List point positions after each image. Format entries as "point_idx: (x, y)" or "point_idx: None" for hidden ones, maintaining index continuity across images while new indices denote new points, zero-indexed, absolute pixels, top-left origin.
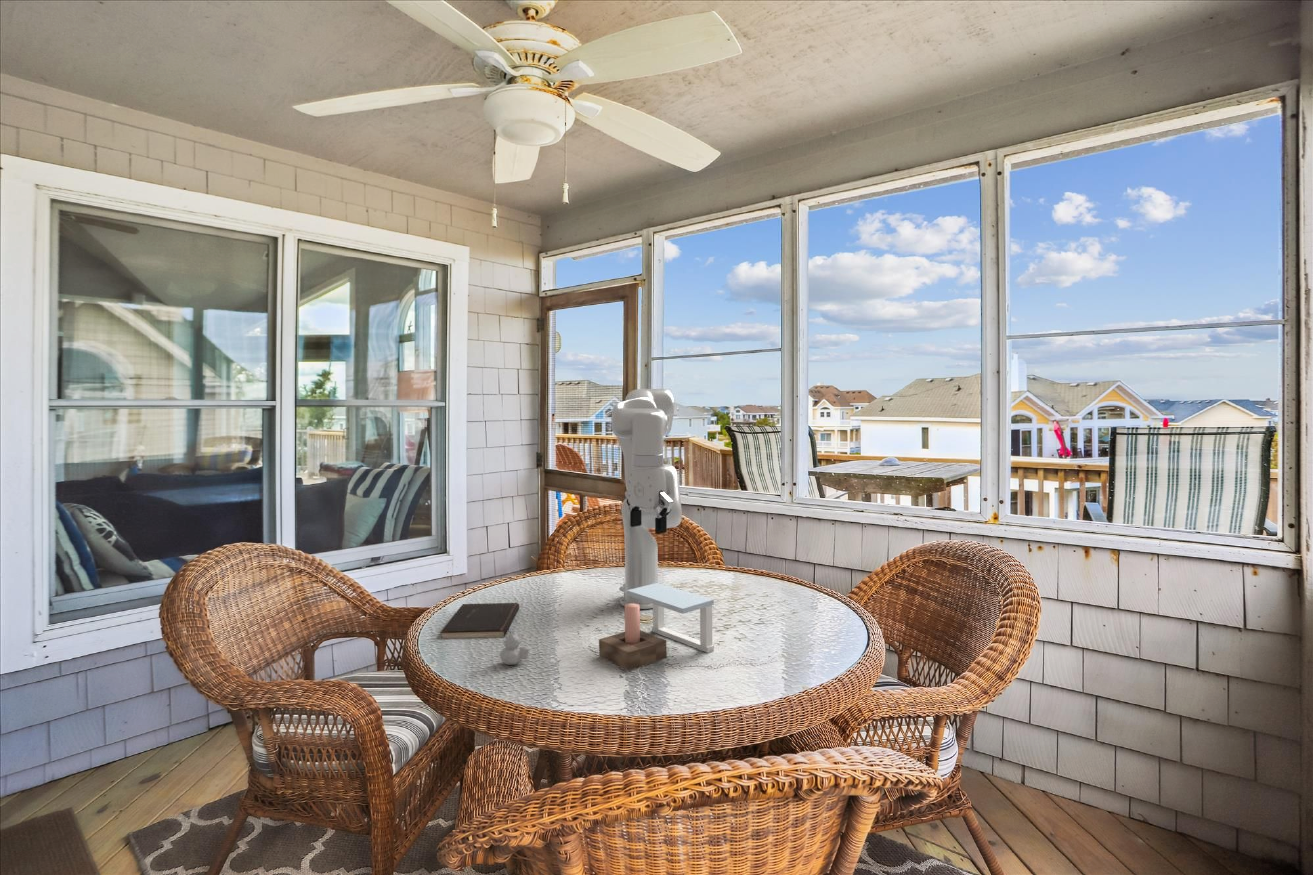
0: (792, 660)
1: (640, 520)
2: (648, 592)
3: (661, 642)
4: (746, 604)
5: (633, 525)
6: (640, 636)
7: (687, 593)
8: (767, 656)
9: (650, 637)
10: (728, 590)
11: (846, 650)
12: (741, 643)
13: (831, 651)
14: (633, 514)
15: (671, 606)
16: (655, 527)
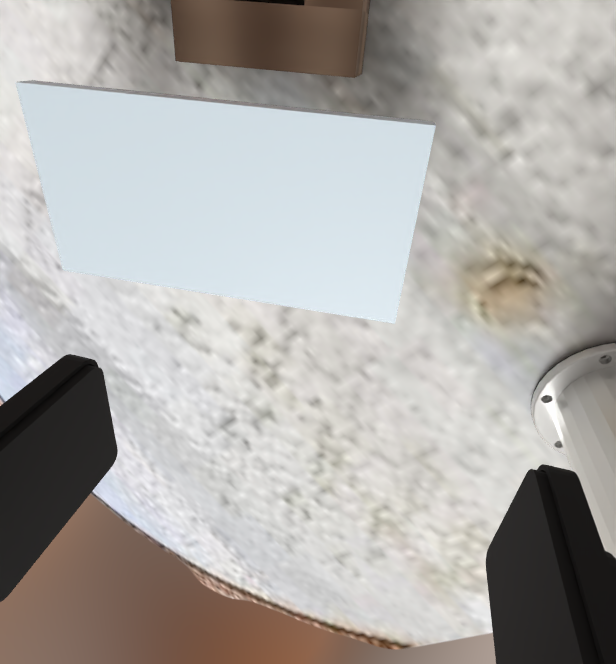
0: (15, 276)
1: (494, 603)
2: (314, 175)
3: (175, 32)
4: (336, 504)
5: (529, 488)
6: (271, 13)
7: (184, 275)
8: (59, 263)
9: (236, 37)
10: (437, 562)
11: (13, 380)
12: (156, 296)
13: (21, 361)
14: (566, 656)
15: (92, 89)
16: (38, 398)
